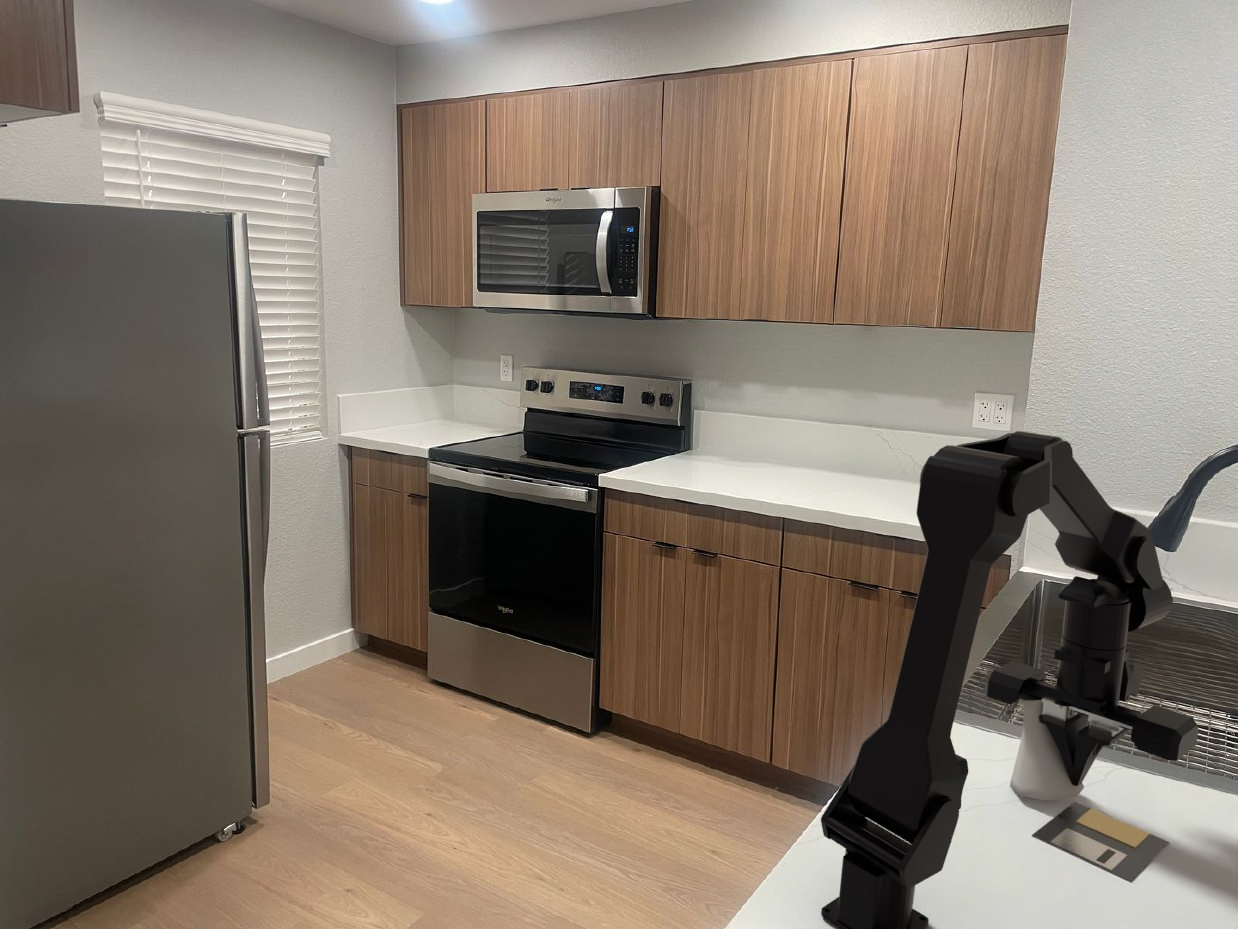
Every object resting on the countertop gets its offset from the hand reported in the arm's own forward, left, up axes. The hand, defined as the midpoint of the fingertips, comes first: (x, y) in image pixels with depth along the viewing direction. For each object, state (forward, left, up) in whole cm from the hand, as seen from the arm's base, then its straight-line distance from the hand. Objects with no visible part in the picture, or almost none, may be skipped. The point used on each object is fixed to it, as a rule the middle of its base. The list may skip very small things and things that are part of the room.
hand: (1076, 784), depth 93 cm
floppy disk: (-3, -4, -3) cm, 6 cm away
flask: (+1, +3, -2) cm, 4 cm away
